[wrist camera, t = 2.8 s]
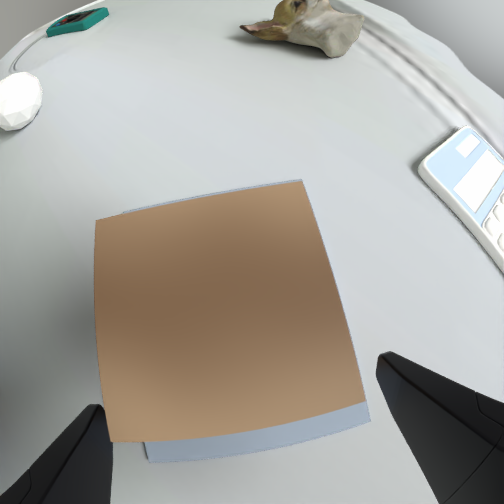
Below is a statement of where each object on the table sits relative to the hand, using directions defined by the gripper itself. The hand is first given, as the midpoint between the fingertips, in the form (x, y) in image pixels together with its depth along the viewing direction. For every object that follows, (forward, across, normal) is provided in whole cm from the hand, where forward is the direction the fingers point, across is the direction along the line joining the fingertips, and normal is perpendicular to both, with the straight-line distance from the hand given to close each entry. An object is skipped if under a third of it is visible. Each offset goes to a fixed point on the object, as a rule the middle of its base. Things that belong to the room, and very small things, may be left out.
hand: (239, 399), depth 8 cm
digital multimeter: (+57, +25, -42) cm, 75 cm away
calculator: (+13, -28, +2) cm, 31 cm away
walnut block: (+8, 0, +5) cm, 10 cm away
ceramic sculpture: (+34, -15, -19) cm, 42 cm away
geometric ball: (+31, +23, -16) cm, 42 cm away
